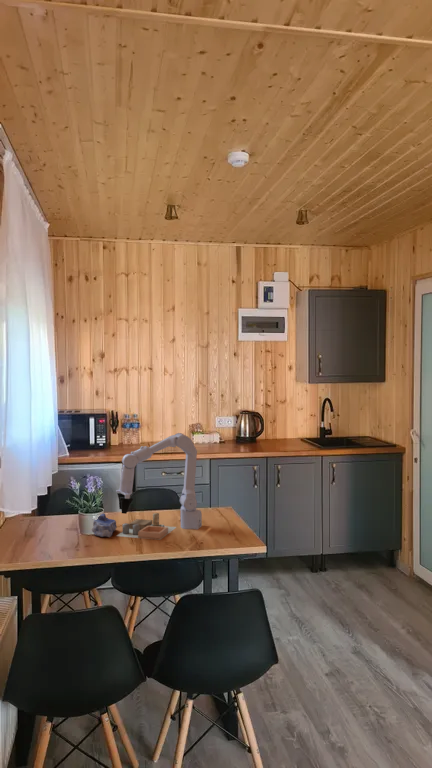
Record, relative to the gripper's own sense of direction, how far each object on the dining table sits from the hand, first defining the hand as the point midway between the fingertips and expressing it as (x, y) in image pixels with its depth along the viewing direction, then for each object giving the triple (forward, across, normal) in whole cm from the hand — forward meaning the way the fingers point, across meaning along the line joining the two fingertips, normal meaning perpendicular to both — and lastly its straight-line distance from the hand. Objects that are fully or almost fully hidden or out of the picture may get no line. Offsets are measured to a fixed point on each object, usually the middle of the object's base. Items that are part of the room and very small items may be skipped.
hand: (122, 511), depth 250 cm
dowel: (+7, 0, +16) cm, 18 cm away
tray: (+8, +8, +13) cm, 18 cm away
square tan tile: (+8, -6, +10) cm, 14 cm away
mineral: (+12, -1, -7) cm, 14 cm away
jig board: (+9, +2, +12) cm, 15 cm away
